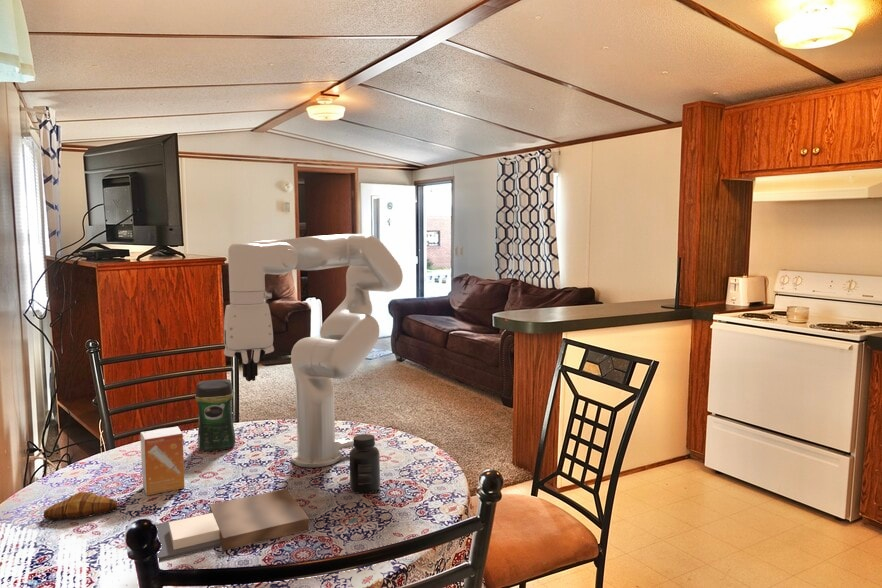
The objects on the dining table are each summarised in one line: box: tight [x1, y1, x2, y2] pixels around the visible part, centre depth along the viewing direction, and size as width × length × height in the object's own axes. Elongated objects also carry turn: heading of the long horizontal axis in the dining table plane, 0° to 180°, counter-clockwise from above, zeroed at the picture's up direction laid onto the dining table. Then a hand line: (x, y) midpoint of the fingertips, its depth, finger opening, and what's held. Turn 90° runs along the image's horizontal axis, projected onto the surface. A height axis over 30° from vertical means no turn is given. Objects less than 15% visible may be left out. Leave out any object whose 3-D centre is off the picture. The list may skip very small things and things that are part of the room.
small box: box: [139, 426, 185, 497], centre depth 138 cm, size 8×6×13 cm
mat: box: [155, 512, 222, 562], centre depth 116 cm, size 12×14×1 cm
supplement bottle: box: [348, 433, 381, 495], centre depth 138 cm, size 7×7×12 cm
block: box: [168, 512, 220, 550], centre depth 115 cm, size 8×8×2 cm
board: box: [208, 488, 310, 552], centre depth 122 cm, size 16×16×2 cm
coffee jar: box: [195, 378, 236, 452], centre depth 164 cm, size 10×8×19 cm
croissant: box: [43, 491, 119, 520], centre depth 125 cm, size 14×7×5 cm, turn 107°
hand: (250, 379), depth 136 cm, fingers closed
